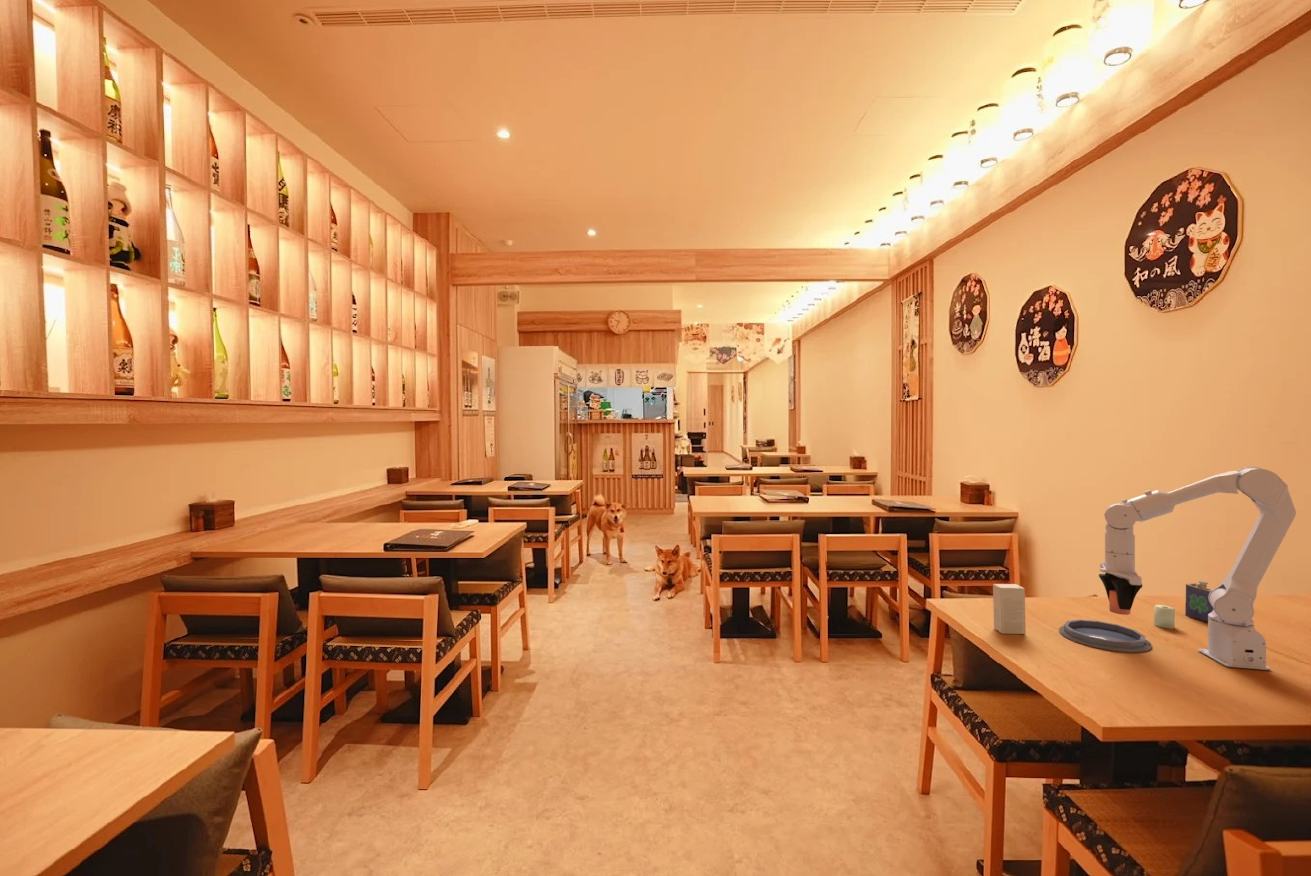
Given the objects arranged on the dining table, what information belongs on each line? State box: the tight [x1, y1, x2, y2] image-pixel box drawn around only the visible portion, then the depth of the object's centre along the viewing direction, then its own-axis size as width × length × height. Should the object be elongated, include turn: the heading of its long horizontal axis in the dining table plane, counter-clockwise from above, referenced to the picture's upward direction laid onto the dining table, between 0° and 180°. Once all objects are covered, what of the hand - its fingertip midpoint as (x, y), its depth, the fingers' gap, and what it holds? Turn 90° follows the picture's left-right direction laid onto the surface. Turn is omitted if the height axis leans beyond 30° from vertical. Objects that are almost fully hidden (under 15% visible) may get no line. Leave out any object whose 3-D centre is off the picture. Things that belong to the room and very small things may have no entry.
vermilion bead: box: [1108, 590, 1131, 616], centre depth 137 cm, size 4×4×5 cm
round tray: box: [1058, 619, 1153, 654], centre depth 138 cm, size 18×18×2 cm
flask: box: [1184, 580, 1214, 624], centre depth 151 cm, size 9×3×11 cm, turn 2°
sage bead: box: [1153, 604, 1176, 630], centre depth 147 cm, size 4×4×5 cm
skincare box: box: [992, 583, 1027, 635], centre depth 144 cm, size 6×4×12 cm
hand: (1119, 606), depth 137 cm, fingers closed on vermilion bead, 4 cm apart
